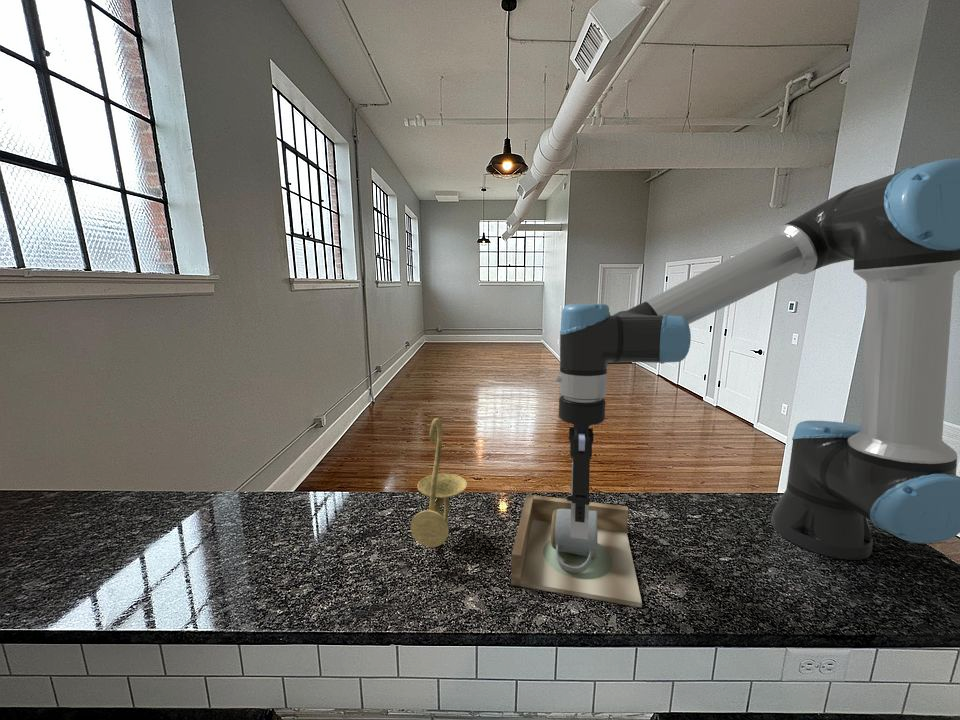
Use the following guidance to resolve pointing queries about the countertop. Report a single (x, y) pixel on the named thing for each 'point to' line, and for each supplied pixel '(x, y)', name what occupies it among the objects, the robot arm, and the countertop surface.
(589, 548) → the ceramic mug
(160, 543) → the countertop surface
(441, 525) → the wall sconce
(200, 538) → the countertop surface
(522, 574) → the tray
